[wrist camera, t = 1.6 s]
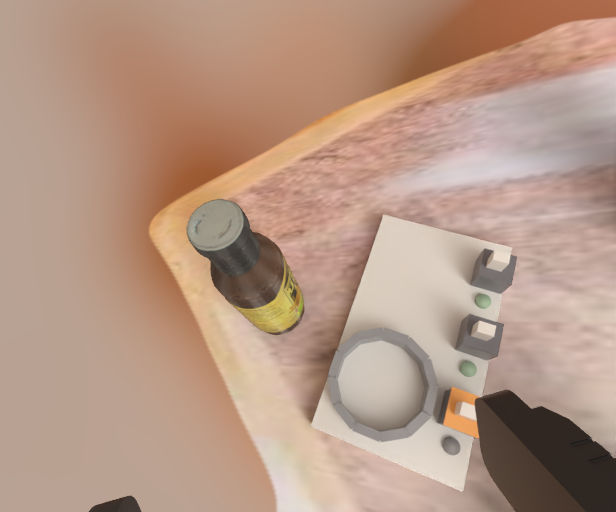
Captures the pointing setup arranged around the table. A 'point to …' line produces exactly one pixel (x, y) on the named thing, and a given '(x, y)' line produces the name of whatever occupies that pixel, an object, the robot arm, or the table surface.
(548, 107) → the table surface
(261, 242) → the sauce bottle
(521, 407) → the robot arm
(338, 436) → the breaker board
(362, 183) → the table surface
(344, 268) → the table surface
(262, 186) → the table surface
